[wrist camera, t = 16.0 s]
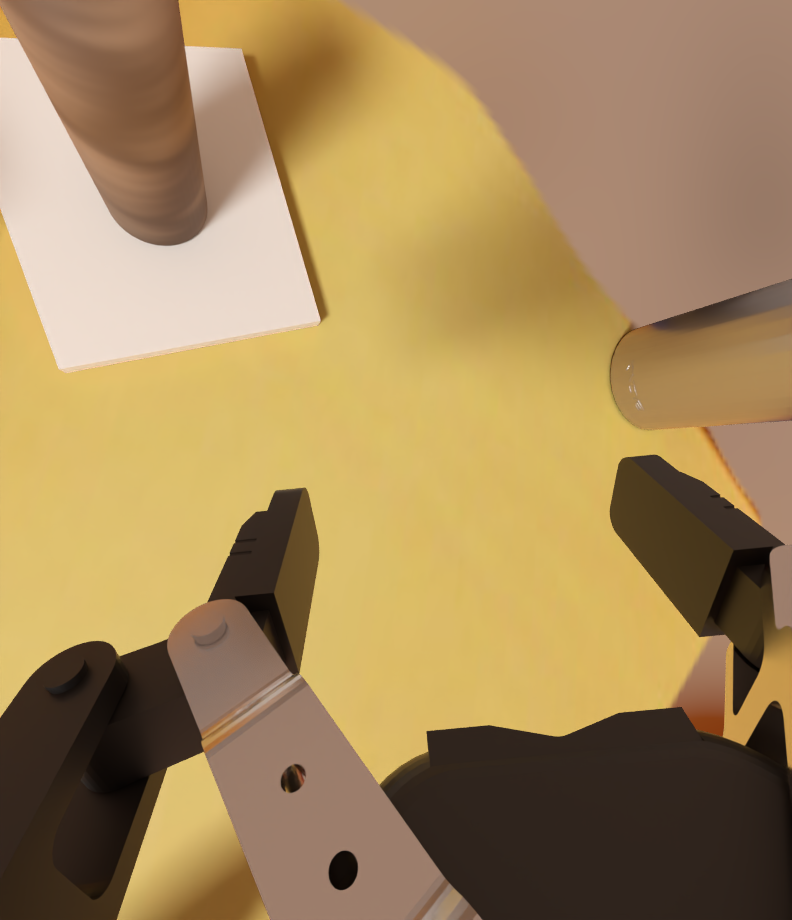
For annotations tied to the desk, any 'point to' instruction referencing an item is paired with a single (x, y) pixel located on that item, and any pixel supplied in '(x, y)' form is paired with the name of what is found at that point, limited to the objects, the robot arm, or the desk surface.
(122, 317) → the white mat
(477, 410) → the desk surface
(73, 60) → the slanted wooden cylinder
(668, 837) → the robot arm
